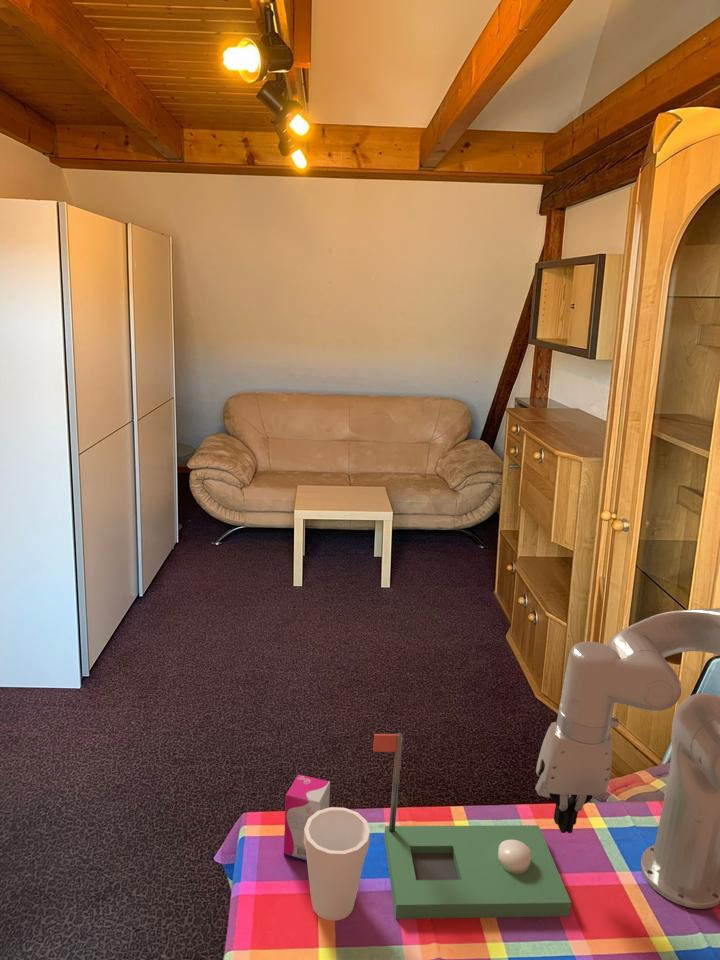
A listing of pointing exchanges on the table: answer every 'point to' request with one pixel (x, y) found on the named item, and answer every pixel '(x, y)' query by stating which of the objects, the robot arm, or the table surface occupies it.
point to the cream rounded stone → (514, 856)
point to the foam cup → (335, 859)
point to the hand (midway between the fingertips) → (563, 826)
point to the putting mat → (465, 866)
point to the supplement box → (302, 812)
